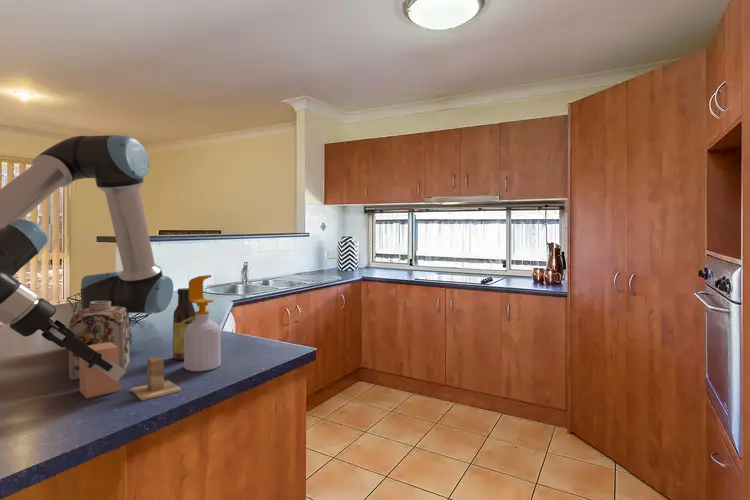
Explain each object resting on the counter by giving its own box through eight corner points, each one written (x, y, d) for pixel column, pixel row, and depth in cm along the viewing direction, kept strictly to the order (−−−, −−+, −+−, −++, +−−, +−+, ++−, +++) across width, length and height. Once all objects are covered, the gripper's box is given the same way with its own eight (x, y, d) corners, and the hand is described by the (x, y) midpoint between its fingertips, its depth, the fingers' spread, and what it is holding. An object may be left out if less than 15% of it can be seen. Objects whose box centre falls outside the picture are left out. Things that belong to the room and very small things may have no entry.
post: (130, 390, 95) (130, 358, 95) (167, 382, 101) (167, 352, 101) (142, 400, 90) (141, 366, 89) (181, 391, 95) (180, 359, 95)
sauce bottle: (187, 361, 118) (186, 290, 117) (167, 359, 119) (166, 289, 118) (201, 354, 124) (201, 287, 123) (182, 353, 125) (182, 286, 125)
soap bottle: (198, 374, 107) (197, 277, 106) (177, 368, 112) (176, 275, 111) (228, 365, 114) (227, 274, 114) (206, 359, 119) (205, 273, 118)
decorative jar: (80, 366, 113) (79, 299, 112) (130, 361, 117) (129, 297, 117) (68, 381, 102) (66, 306, 101) (124, 375, 106) (122, 303, 106)
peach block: (79, 390, 95) (78, 346, 95) (111, 384, 100) (110, 341, 99) (86, 398, 91) (85, 352, 91) (118, 390, 95) (118, 346, 95)
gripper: (2, 318, 91) (91, 374, 103) (13, 335, 76) (115, 398, 88) (33, 291, 95) (115, 348, 107) (49, 302, 80) (143, 367, 92)
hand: (115, 371), depth 97 cm, fingers open, 9 cm apart
